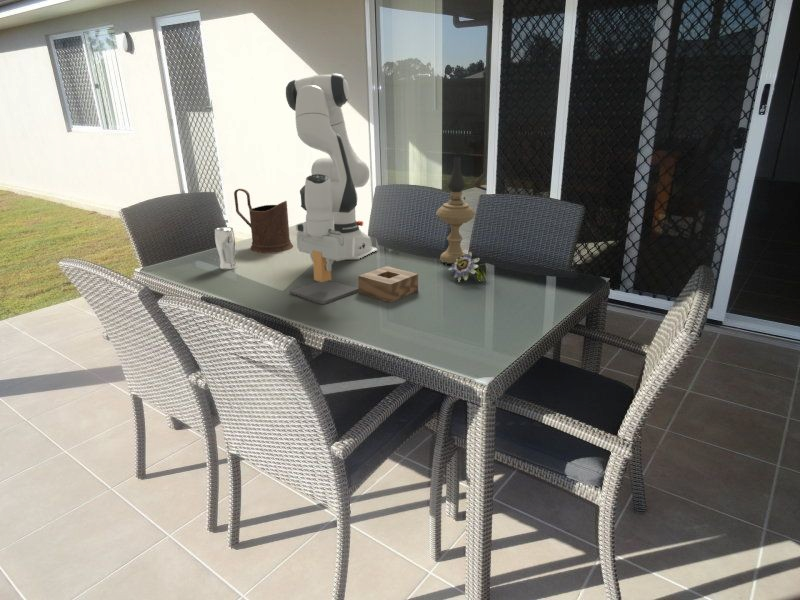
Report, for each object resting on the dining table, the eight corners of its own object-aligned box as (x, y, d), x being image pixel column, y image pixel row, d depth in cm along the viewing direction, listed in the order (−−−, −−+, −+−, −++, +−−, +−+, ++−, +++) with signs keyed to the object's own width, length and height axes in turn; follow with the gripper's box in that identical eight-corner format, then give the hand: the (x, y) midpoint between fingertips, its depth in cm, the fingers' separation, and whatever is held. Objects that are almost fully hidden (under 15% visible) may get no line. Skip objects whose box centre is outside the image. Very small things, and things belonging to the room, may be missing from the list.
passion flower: (459, 296, 190) (440, 268, 189) (474, 283, 198) (456, 255, 197) (481, 285, 182) (462, 255, 181) (496, 271, 189) (478, 243, 188)
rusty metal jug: (283, 254, 223) (278, 193, 214) (230, 251, 228) (223, 192, 219) (299, 243, 240) (295, 187, 231) (250, 240, 245) (244, 185, 236)
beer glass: (240, 265, 208) (236, 227, 203) (233, 270, 202) (229, 231, 196) (223, 264, 209) (218, 226, 204) (215, 269, 202) (210, 230, 197)
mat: (326, 281, 188) (325, 279, 188) (358, 291, 179) (358, 288, 178) (290, 293, 177) (290, 290, 177) (323, 304, 167) (322, 301, 167)
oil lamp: (479, 264, 208) (485, 158, 194) (445, 268, 203) (448, 160, 189) (461, 254, 221) (465, 154, 207) (428, 258, 216) (430, 156, 202)
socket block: (386, 282, 188) (386, 266, 185) (418, 291, 179) (418, 273, 177) (358, 292, 178) (358, 275, 175) (390, 302, 169) (390, 284, 167)
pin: (323, 277, 179) (321, 247, 175) (331, 279, 176) (330, 250, 173) (314, 279, 176) (312, 250, 172) (322, 282, 173) (320, 252, 170)
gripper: (350, 230, 166) (351, 273, 171) (307, 221, 179) (309, 261, 183) (335, 234, 162) (337, 277, 166) (292, 224, 174) (295, 265, 179)
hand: (322, 269), depth 175 cm, fingers closed on pin, 4 cm apart
